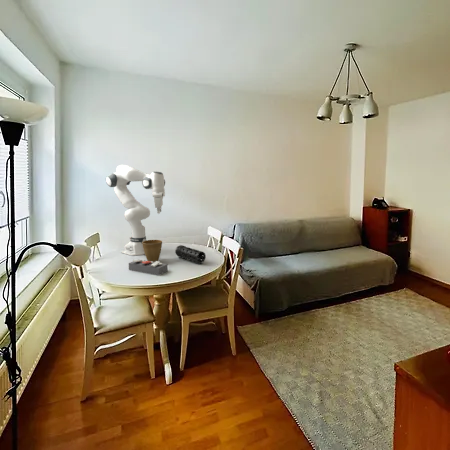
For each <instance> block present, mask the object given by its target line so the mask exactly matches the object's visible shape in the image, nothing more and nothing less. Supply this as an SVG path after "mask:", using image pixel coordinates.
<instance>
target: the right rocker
mask: <svg viewBox="0 0 450 450" xmlns="http://www.w3.org/2000/svg"><path fill="white" fill-rule="evenodd" d="M160 263H161V261H159V260H158V261H156V262H154V263H153V264H152V265H151V266H153V267H156V266H158V264H160Z"/></svg>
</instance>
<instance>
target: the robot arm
mask: <svg viewBox="0 0 450 450" xmlns="http://www.w3.org/2000/svg"><path fill="white" fill-rule="evenodd" d="M105 181H106V185H107V186H108V187H110V188H113V190H114V193H115V195H116V197H117V198H118V200H119V202H120V203H121V204H122V206H123V207H124V208H126V209H127V210H126V211H124V219H125V220H126V221H127V222H128V223H129V226H130V230H131V237H129V240H130V241H129V242H127V243H126V244H125V245H124V249H123V250H121V254H125V255H128V256H133V257H134V256H139V255H140V256H142V255H145V253H144V249H143V244H142V242H143V241H146V240H147V236H146V226H145V225H143V223H142V221H143V220H146V219H148V218H149V217H150V215H151V211H150V209H149V207H147V206H144V205H143V204H141V203H140V202H139V201H138V200H137V199H136V198H135V197H134V195H133V193H131V191H130V189H128V186H129V185H130V183H132V182H141V184H142V187H143V188H144V189H146V190H151V191H152V193H151V194H152V197H153V200H154V201H153V202H154V208H156V212H157V214H158V215H159V214H160V213H161V212H162V206H163V205H164V202H163V199H164V197H165V196H166V191H165V190H166V189H165V185H166V180H165V175H164V173H163V172H161V171H152V172H151V174H149V173H147V172H144V171H141V170H139V169H137V168H135V167H132V166H130V165H127V164H120V165H118V166H117V167H116V172H112V173H110V174H108V175H107V176H106V177H105Z"/></svg>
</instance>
